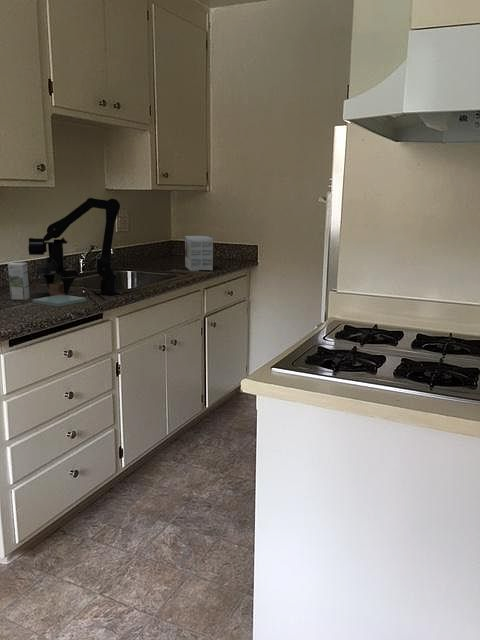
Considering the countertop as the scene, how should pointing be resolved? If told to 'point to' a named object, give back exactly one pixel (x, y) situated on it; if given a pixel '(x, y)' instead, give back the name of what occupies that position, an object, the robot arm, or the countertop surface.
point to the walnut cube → (56, 289)
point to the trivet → (59, 300)
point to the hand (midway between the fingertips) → (58, 292)
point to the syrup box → (18, 280)
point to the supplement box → (198, 253)
